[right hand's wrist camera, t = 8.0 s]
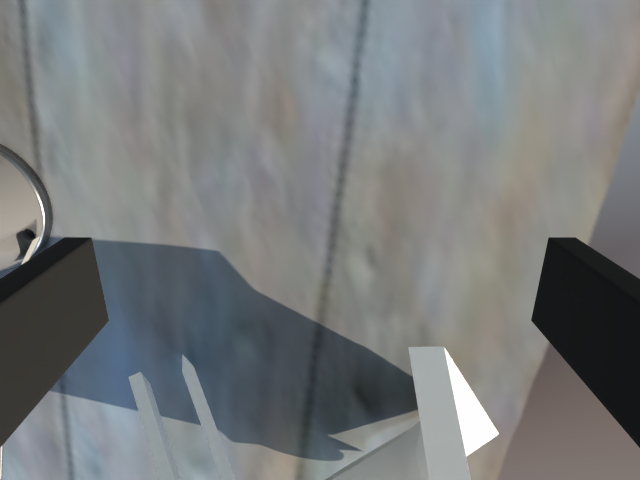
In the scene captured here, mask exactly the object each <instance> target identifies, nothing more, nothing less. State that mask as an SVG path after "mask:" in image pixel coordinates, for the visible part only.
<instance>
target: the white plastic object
mask: <svg viewBox="0 0 640 480" xmlns="http://www.w3.org/2000/svg"><path fill="white" fill-rule="evenodd" d="M408 348H409V355H410V361H411V367H412V373H413V380H414V386H415V392H416V399H417V405H418V411H419V417H420V421H419V422H418V423H417V424H416V425H414V426H413V427H412V428H410V429H409V430H407V431H405V432H403V433H402V434H400V435H398V436H397V437H395V438H393V439H391V440H390V441H388V442H386V443H384V444H383V445H381V446H379V447H378V448H376V449H374V450H372V451H371V452H369V453H367V454H366V455H364V456H362V457H361V458H359V459H357V460H356V461H354V462H352V463H351V464H349V465H347V466H346V467H344V468H343V469H341V470H339V471H338V472H336V473H335V474H333V475H332V476H330V477H328V478H327V479H325V480H471V477H470V472H469V467H468V463H467V458H466V456H468V455H469V454H471V453H472V452H474V451H475V450H476V449H478V448H479V447H481V446H482V445H484V444H485V443H487V442H488V441H490V440H491V439H493V438H494V437H496V436H497V435H498V434H499V433H498V431H497V430H496V428H495V427H494V425H493V423H492V422H491V420H490V419H489V417H488V415H487V414H486V412H485V411H484V409H483V408H482V406H481V404H480V403H479V401H478V400H477V398H476V396H475V395H474V393H473V392H472V390H471V389H470V387H469V385H468V384H467V382H466V381H465V379H464V377H463V376H462V374H461V373H460V371H459V370H458V368H457V366H456V365H455V363H454V362H453V360H452V358H451V357H450V355H449V354H448V352H447V351H446V349H445V347H408ZM182 373H183V376H184V379H185V381H186V384H187V387H188V390H189V392H190V395H191V398H192V401H193V404H194V406H195V409H196V412H197V415H198V417H199V420H200V423H201V426H202V429H203V431H204V434H205V437H206V440H207V443H208V445H209V448H210V451H211V454H212V456H213V459H214V462H215V465H216V468H217V470H218V473H219V476H220V479H221V480H236V479H235V476H234V473H233V470H232V468H231V465H230V462H229V460H228V457H227V454H226V452H225V449H224V446H223V444H222V441H221V438H220V436H219V433H218V430H217V428H216V425H215V422H214V420H213V417H212V414H211V412H210V409H209V406H208V404H207V401H206V398H205V396H204V393H203V390H202V387H201V385H200V382H199V379H198V377H197V374H196V371H195V369H194V367H193V365H192V364H191V363H190V362H189V361H188V360H187V359H186V357H185V356H184V355H183V354H182ZM128 378H129V381H130V385H131V388H132V391H133V395H134V398H135V401H136V405H137V408H138V411H139V415H140V418H141V421H142V424H143V428H144V431H145V434H146V438H147V441H148V444H149V448H150V451H151V454H152V458H153V461H154V464H155V468H156V471H157V474H158V478H159V480H181V478H180V475H179V472H178V469H177V466H176V462H175V459H174V456H173V453H172V450H171V447H170V444H169V441H168V438H167V434H166V431H165V428H164V425H163V422H162V419H161V416H160V413H159V410H158V406H157V403H156V400H155V397H154V394H153V391H152V388H151V385H150V383H149V382H148V380H147V379H146V378H145V377H144V375H143V374H142V373H141V372H139V373H136V374H134V375H132V376H129V377H128Z"/></svg>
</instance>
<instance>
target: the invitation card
mask: <svg viewBox="0 0 640 480" xmlns="http://www.w3.org/2000/svg"><path fill="white" fill-rule="evenodd" d="M1 464H2V446H1V447H0V480H1Z"/></svg>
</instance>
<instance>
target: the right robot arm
mask: <svg viewBox="0 0 640 480" xmlns="http://www.w3.org/2000/svg"><path fill="white" fill-rule="evenodd" d="M52 220H53V217H52V207H51V203H50V199H49V196H48V193H47V191H46V189H45V187H44V185H43V183H42V182H41V180H40V178H39V177H38V176H37V174H36V173H35V172H34V170H33V169H32V168H31V167H30V166H29V165H28V164H27V163H26V162H25V161H24V160H23V159H22V158H21V157H19V156H18V155H17V154H16V153H14V152H13V151H11V150H10V149H8V148H7V147H5V146H3V145H1V144H0V271H4V270H8V269H12V268H14V267H17V266H19V265H20V264H21V266H20V267H18V268H17V269H15V270H14V271H12V272H11V273H9V274H8V275H6V276H4V277H3V278H1V279H0V447H1V446H2V445H3V444H4V443H5V442H6V440H7V439H8V438H9V437H10V436H11V434H12V433H13V432H14V431H15V430H16V429H17V427H18V426H19V425H20V424H21V423H22V422H23V420H24V419H25V418H26V417H27V416H28V415H29V413H30V412H31V411H32V410H33V409H34V407H35V406H36V405H37V404H38V403H39V402H40V400H41V399H42V398H43V397H44V396H45V395H46V393H47V392H48V391H49V390H50V389H51V388H52V386H53V385H54V384H55V383H56V382H57V380H58V379H59V378H60V377H61V376H62V375H63V373H64V372H65V371H66V370H67V369H68V368H69V366H70V365H71V364H72V363H73V362H74V361H75V359H76V358H77V357H78V356H79V355H80V353H81V352H82V351H83V350H84V349H85V348H86V346H87V345H88V344H89V343H90V342H91V341H92V339H93V338H94V337H95V336H96V335H97V334H98V332H99V331H100V330H101V329H102V328H103V326H104V325H105V324H106V323H107V322H108V321H109V320H108V315H107V310H106V305H105V301H104V296H103V291H102V286H101V281H100V277H99V272H98V267H97V262H96V258H95V253H94V248H93V243H92V239H91V238H63V239H62V240H60V241H59V242H57V243H55V244H54V245H52V246H51V247H49V248H48V249H46V250H45V251H43V252H42V253H40V254H38V255H37V256H35V257H34V258H32V259H31V260H29V259H30V258H31V257H33V256H34V255H36V254H37V253H38V252H39V251H40V250H41V249H42V248H43V247H44V245H45V244H46V242H47V240H48V238H49V236H50V232H51V228H52ZM28 260H29V261H28ZM26 261H28V262H26ZM25 262H26V263H25ZM23 263H25V264H23ZM22 264H23V265H22ZM531 321H532V322H533V323H534V324H535V325H536V327H537V328H538V329H539V330H540V331H541V332H542V334H543V335H544V336H545V337H546V338H547V339H548V341H549V342H550V343H551V344H552V345H553V346H554V348H555V349H556V350H557V351H558V352H559V353H560V355H561V356H562V357H563V358H564V359H565V361H566V362H567V363H568V364H569V365H570V366H571V368H572V369H573V370H574V371H575V372H576V373H577V375H578V376H579V377H580V378H581V379H582V380H583V382H584V383H585V384H586V385H587V386H588V388H589V389H590V390H591V391H592V392H593V393H594V395H595V396H596V397H597V398H598V399H599V400H600V402H601V403H602V404H603V405H604V406H605V407H606V409H607V410H608V411H609V412H610V413H611V415H612V416H613V417H614V418H615V419H616V420H617V422H618V423H619V424H620V425H621V426H622V427H623V429H624V430H625V431H626V432H627V433H628V434H629V436H630V437H631V438H632V439H633V440H634V441H635V443H636V444H637V445H638V446H639V447H640V279H639V278H637V277H635V276H634V275H632V274H631V273H629V272H628V271H626V270H625V269H623V268H622V267H620V266H619V265H617V264H615V263H614V262H612V261H611V260H609V259H608V258H606V257H605V256H603V255H602V254H600V253H598V252H597V251H595V250H594V249H592V248H591V247H589V246H588V245H586V244H585V243H583V242H581V241H580V240H578V239H577V238H549V239H548V243H547V248H546V253H545V258H544V262H543V267H542V272H541V277H540V281H539V286H538V291H537V296H536V301H535V305H534V310H533V315H532V320H531Z"/></svg>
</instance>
